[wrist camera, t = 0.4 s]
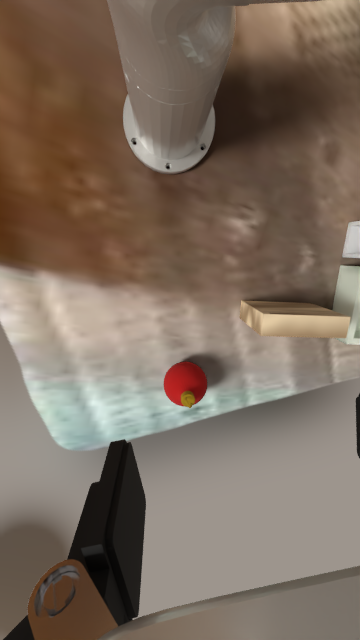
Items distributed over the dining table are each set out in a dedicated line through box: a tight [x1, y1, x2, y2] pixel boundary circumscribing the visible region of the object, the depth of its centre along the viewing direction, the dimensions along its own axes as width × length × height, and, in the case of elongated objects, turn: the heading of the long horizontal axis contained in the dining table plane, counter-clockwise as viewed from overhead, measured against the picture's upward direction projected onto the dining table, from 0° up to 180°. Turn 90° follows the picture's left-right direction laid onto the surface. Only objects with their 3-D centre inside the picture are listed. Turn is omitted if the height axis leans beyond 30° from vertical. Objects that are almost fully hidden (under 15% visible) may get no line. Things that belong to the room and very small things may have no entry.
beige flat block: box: [240, 301, 351, 338], centre depth 40 cm, size 3×12×10 cm, turn 87°
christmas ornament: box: [164, 362, 207, 408], centre depth 42 cm, size 7×7×10 cm
